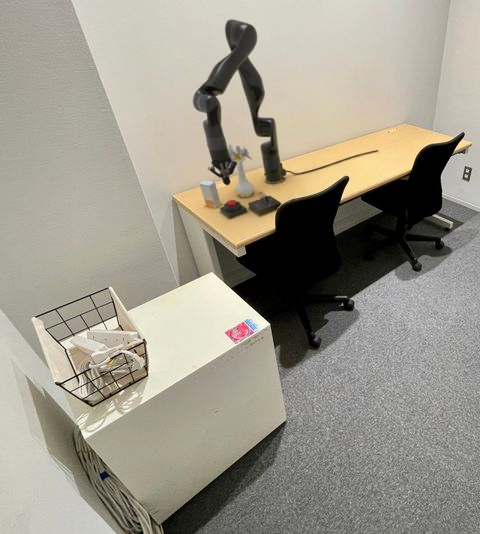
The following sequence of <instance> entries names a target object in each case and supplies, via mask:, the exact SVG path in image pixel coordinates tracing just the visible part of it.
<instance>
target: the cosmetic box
mask: <svg viewBox="0 0 480 534" xmlns="http://www.w3.org/2000/svg"><path fill="white" fill-rule="evenodd" d="M199 187H200V191H201V194H202V197H203V201H204V204H205V206H207V207H211V208H215V209H217V208H218V207H219V206H221V204H222V203H221V199H220V196H219V193H218V189H217V185H216V182H215V181H212V180H206V179H204V180H202V181H201V182H199Z"/></svg>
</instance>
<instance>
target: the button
mask: <svg viewBox="0 0 480 534" xmlns="http://www.w3.org/2000/svg"><path fill="white" fill-rule="evenodd" d="M236 201H237V200H235V199H230V200H227V201H226V203H227V206H228V207H235V206H237V202H236Z"/></svg>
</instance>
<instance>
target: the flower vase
mask: <svg viewBox="0 0 480 534" xmlns="http://www.w3.org/2000/svg"><path fill="white" fill-rule="evenodd" d="M227 148H228V152H229V157H230V158H231V160H234V161H235V162H237V165H236V170H237V176H238V182H237V184H236V185H235V187H234V188H235V193H237V194H238V195H239V196H240V197H241V198H248V197H251V196H252V195H253V192H254V191H255V186H254V185H253V183H252V182H250V181H249V180H248V179H247V176H246V173H245V169H244V163H243V162H245V161H246V160H247V159H246V158H248V159H250V160H252V161H254V159H253V158H252V157H251V156H250V152H249V151H248V149H247V148H246V147H245V146H243V148H241V147H240V146H239V145H236V146H235V148H234V147H233V145H232V144H231V143H230V144H228V147H227Z"/></svg>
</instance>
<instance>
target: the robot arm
mask: <svg viewBox="0 0 480 534" xmlns="http://www.w3.org/2000/svg"><path fill="white" fill-rule="evenodd" d="M224 34H225V35H224V36H225V38H226V42H227V45H228V46H229V50H230V52H229V54H227V55H226V56H225V57H223V58H222V59H220V60H219V61H217V63H216V64H215V65H214V66H213V68H212V70H211V72H209V74H208V76H207V79H206V80H205V81H204V82H203V83H202V84H201V85H200V87H199V88H197V90H196V91H195V92H194V94H193V96H192V105H193V108H194V109H195V110H196V111H197V112H199V113H203V114H206V119H204V120H203V121H202V129H203V132H204V136H205V141H206V144H207V145H206V147H207V148H208V152H209V156H210V159H211V163H210V164H211V165H210V166H208V167H207V170H208V171H210V172H211V173H212V174H213V175H215V176H216V177H218V178H221V180H222V184H224V185H225V186H230V184H231V177H230V176H231V175H233V174H234V172H235V170H236V168H237V166H236V165H237V162H235V161H234V160H231V158H230V157H229V152H228V150H229V149H228V148H229V147H228V144H227V140H226V137H225V133H224V130H223V126H222V105H221V102H220V100H219V98H218V97H217V96H221V95H223V94H224V93H225V92H226V91H227V88H228V86H229V84H231V83H230V82H231V80H233V77H234V75H235V74H236V72H238V75H239V78H240V82H241V87H242V89H243V93H244V95H245V99H246V102H247V106H248V109H249V113H250V117H251V123H252V127H253V130H254V131H253V132H254V134H255V135H256V137H259V138H269V139H268V140H266V141H264V142H262V143H261V144H260V147H259V148H260V154H261V159H262V160H261V161H262V165H263V171H264V174H263V175H264V177H265V182H266V183H267V184H272V185H274V184H280V183H282V182H283V181H284V180H285V176H287V173H290V174H292V175H295V176H296V175H303V174H306V173H310V172H313V171H316V170H320V169H323V168H326V167H329V166H332V165H334V164H337V163H341V162H343V161H347V160H349V159H352V158H355V157H359V156H364V155H367V154H371V153H376V152H378V151H379V149H375V150H371V151H367V152H363V153H359V154H355V155H352V156H349V157H345V158H343V159H340V160H338V161H335V162H331V163H328V164H326V165H323V166H319V167H315V168H313V169H310V170H306V171H302V172H297V173H296V172H293V171H291V170H287V169H285V168H283V163H282V162H281V155H280V150H279V142H278V132H277V131H278V130H277V129H278V128H277V123H276V119H275V118H274V117H263V116H262V117H260V115H259V114H260V113H259V112H260V109H261V106H262V104H263V103H264V99H265V97H266V90H265V85H264V82H263V78H262V76H261V74H260V72H259V71H258V69H257V68H256V67H255V64H254V63H253V62H252V61H251V58H249V56H250V55H251V54H252V52H253V51H254V50H255V48H256V46H257V43H258V32H257V29H256V27H255V26H254V25H253V24H251V23H249V22H245V21H241V20H238V19H234V18H229V19H228V20H227V21H226V22H225V25H224ZM216 169H217V170H218V172H217V171H216Z"/></svg>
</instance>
